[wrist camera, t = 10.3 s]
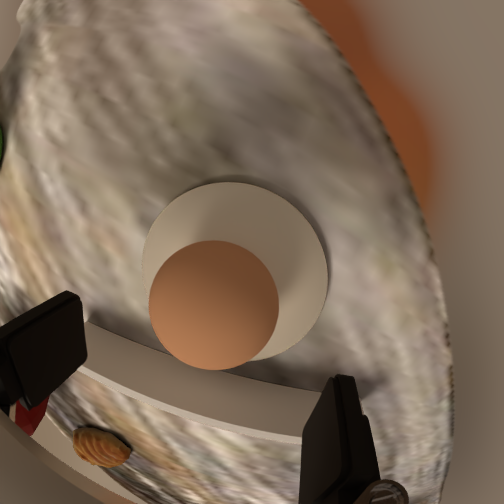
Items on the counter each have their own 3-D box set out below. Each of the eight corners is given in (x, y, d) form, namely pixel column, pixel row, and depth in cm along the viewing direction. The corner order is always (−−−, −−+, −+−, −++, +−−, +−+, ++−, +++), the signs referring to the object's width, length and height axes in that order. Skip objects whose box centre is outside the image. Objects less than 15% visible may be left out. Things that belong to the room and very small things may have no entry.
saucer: (355, 314, 15) (357, 319, 15) (207, 374, 18) (204, 379, 18) (265, 144, 14) (264, 143, 13) (118, 242, 16) (113, 244, 16)
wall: (360, 397, 17) (369, 442, 13) (355, 404, 17) (364, 449, 13) (86, 321, 19) (52, 348, 14) (87, 329, 19) (54, 356, 15)
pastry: (105, 420, 23) (90, 442, 19) (146, 456, 24) (134, 478, 20) (75, 425, 25) (61, 442, 22) (109, 456, 26) (98, 474, 23)
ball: (301, 304, 15) (302, 372, 9) (213, 342, 17) (180, 407, 11) (247, 209, 14) (214, 228, 8) (160, 260, 16) (99, 300, 10)
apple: (56, 408, 25) (11, 458, 14) (7, 347, 24) (-45, 387, 13) (78, 385, 22) (15, 453, 11) (17, 308, 21) (-56, 355, 10)
